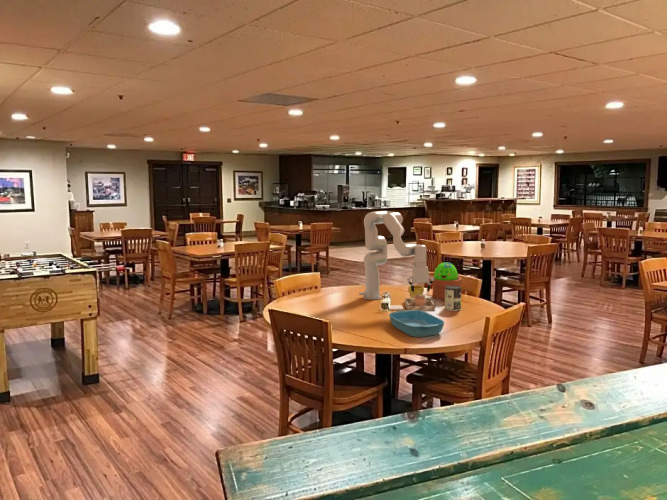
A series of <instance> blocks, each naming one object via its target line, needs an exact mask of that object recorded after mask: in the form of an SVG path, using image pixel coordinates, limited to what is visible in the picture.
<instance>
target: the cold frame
mask: <svg viewBox="0 0 667 500" xmlns="http://www.w3.org/2000/svg"><path fill="white" fill-rule="evenodd" d="M404 304H405V305H404V307H405V308H406V309H407V310H420V311H435V310H436V304H435V303H434V302H433V301H432V297H425V306H415V298H410V297H409V298H405V299H404Z"/></svg>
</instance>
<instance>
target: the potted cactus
mask: <svg viewBox="0 0 667 500" xmlns="http://www.w3.org/2000/svg"><path fill="white" fill-rule="evenodd" d="M430 276H431V275H430ZM431 277H433V278H434V281H433V283H432V284H431V285H432V298H433V299H436V300H441V301H445V286H450V285H454V286H461V285H463V278H462V277H461V276H459V274H458V270H457V268H456V267H455V265H454V264H453V263H451V262H440V263H439V264H438V265H437V266H436V267H435V269H434V271H433V275H432V276H431ZM430 281H431V278H429V282H430Z"/></svg>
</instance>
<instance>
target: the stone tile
mask: <svg viewBox="0 0 667 500" xmlns="http://www.w3.org/2000/svg"><path fill="white" fill-rule="evenodd" d="M389 305H390V304H389ZM402 310H404V307H403V305H401V304H394V305H393V304H392V305H390V307H389V309H388V311H402Z"/></svg>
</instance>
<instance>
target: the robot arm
mask: <svg viewBox="0 0 667 500" xmlns="http://www.w3.org/2000/svg"><path fill="white" fill-rule="evenodd" d="M403 221H404V217H403V216H402V214H401V213H400V212H396V211H389V210H379V211H377V210H376V211H371V212H370V211H369V212H368V213H367V214H366V215H365V216H364V219H363V226H364V237H365V239H364V241H365V242H364V243H365V248H366V250H368V251H371V252H368V253H366V254H365V255H364V257H363V263H364V268H365V269H364V270H365V274H364V275H365V290H364V291H361V292H360V291H359V292H358V295H359V296H363V299H364V300H374V301H375V300H380V299H382V298H381V297H382V295H381V294H380V269H379V268H378V266H381V265H385V264H386V263H387V261H388V243H387V242H388V241H387V239H386V238H385V236H382V235H379V234H378V233H379V232H378V231H379V230H378V228H377V226H376V225H381V224H384V226H386V228H387V230H388V231H389V232H390V234H391V235H392V236H393V237H392V238H393V239H392V241H393V246H394V249H395V250H396V251H397V254H399V255H400V256H402V258H403V257H404V258H407V257H413V256H414V257H413V258H414V259H413V260H414V262H412V263H411V265H412V266H413V267H412V275H411V276H410V277H408V278H406V281H407V282H408V284H409V286H411V291H412V292H414V285H415V284H427V286H426V287H427V288H426V290H427V292H430V291H431V285H432V283H433V281H434V278H433V277H431V275H430V272H429V267H428V265H427V246H426V245H425V244H418V243H417V244H416V243H408V244H405V242H404V241H403V240H402V236H403V235H404V232H405V229H404V226H403V225H402V223H403ZM429 278H431V281H430V282H429ZM411 280H412V281H411Z"/></svg>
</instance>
